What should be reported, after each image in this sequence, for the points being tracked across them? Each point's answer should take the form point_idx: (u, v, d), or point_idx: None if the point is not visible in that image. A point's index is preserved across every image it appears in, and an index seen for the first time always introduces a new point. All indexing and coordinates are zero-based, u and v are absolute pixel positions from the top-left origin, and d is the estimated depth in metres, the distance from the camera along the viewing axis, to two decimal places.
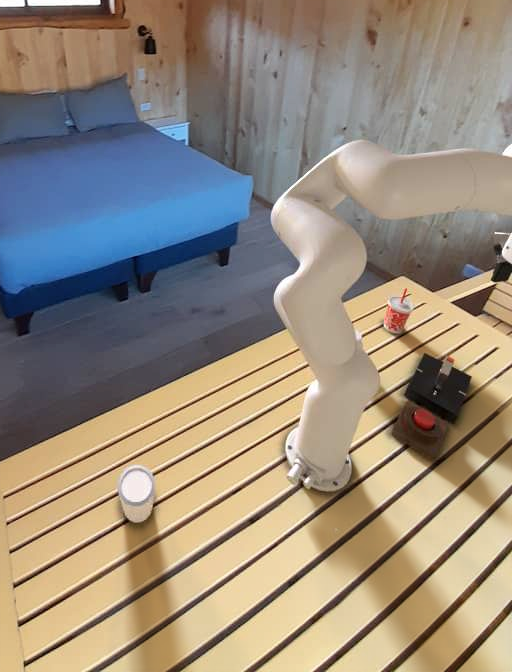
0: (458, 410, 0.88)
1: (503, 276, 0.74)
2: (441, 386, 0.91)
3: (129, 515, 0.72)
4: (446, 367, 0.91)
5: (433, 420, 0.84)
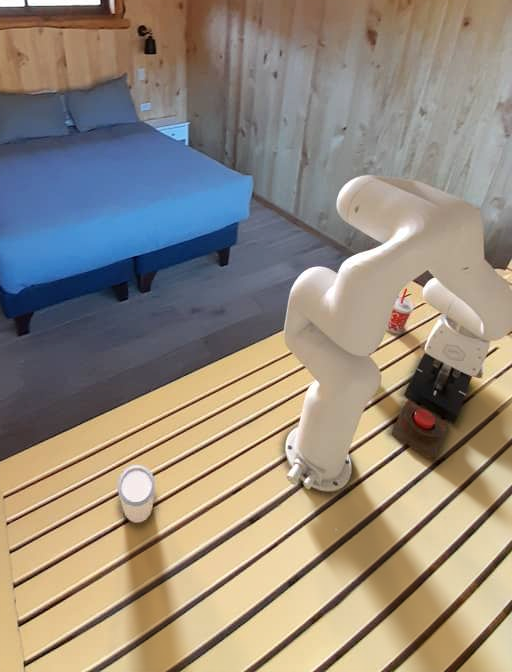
0: (458, 410, 0.88)
1: None
2: (441, 386, 0.91)
3: (129, 515, 0.72)
4: (446, 367, 0.91)
5: (433, 420, 0.84)
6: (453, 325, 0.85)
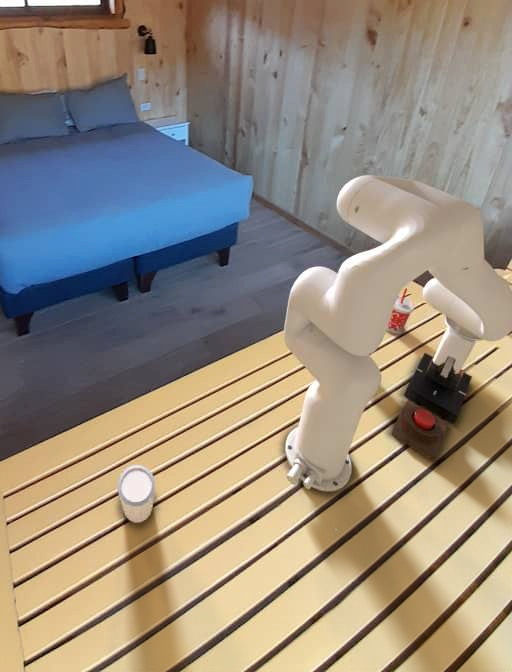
0: (458, 410, 0.88)
1: None
2: None
3: (129, 515, 0.72)
4: None
5: (433, 420, 0.84)
6: None
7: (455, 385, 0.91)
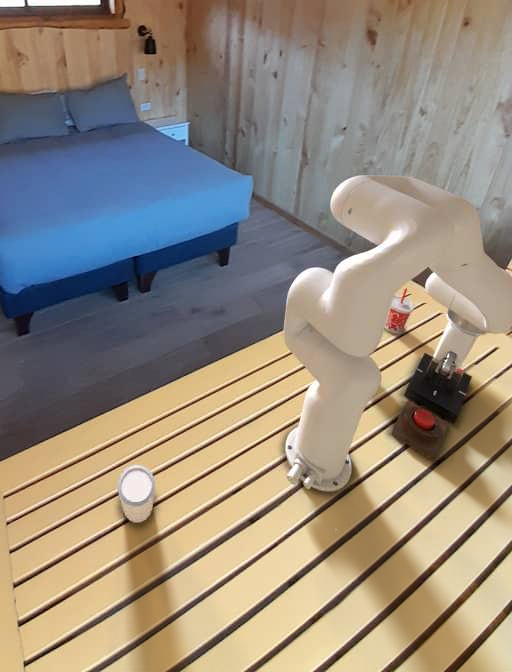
0: (458, 410, 0.88)
1: None
2: None
3: (129, 515, 0.72)
4: None
5: (433, 420, 0.84)
6: None
7: (455, 385, 0.91)
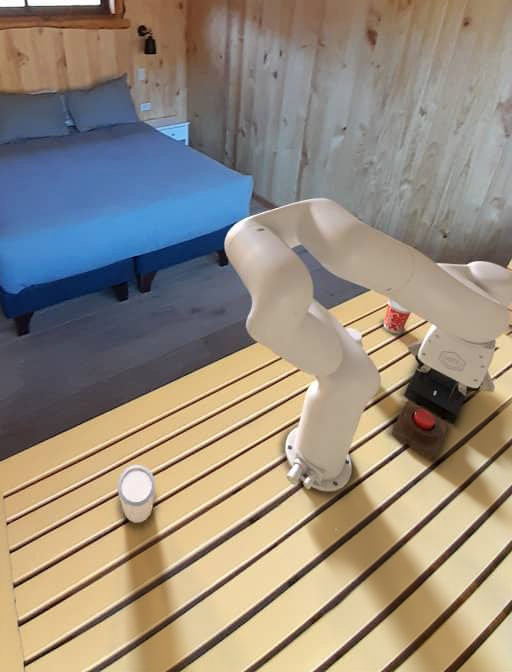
0: (458, 410, 0.88)
1: None
2: None
3: (129, 515, 0.72)
4: None
5: (433, 420, 0.84)
6: None
7: None
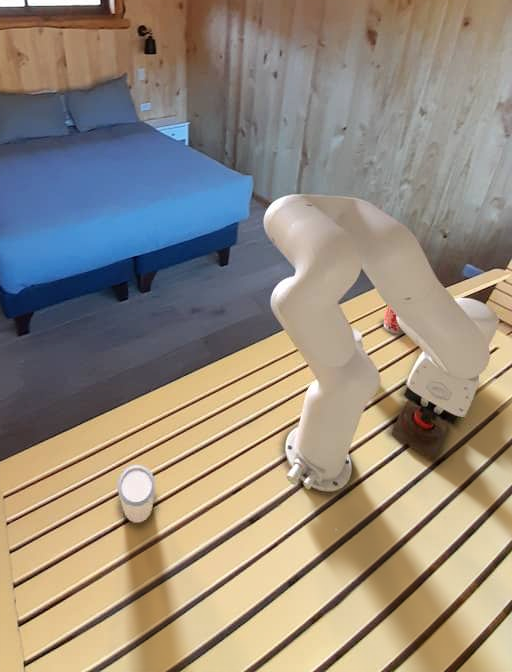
0: None
1: None
2: None
3: (129, 515, 0.72)
4: None
5: (433, 421, 0.84)
6: None
7: None
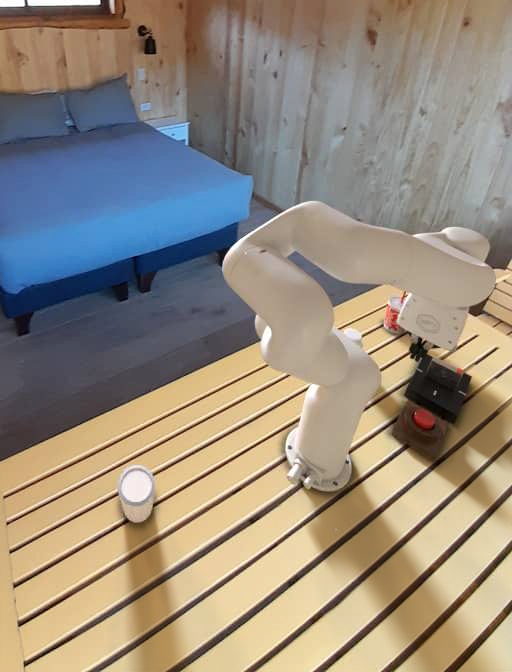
0: (458, 410, 0.88)
1: (417, 351, 0.84)
2: None
3: (129, 515, 0.72)
4: (444, 363, 0.92)
5: (433, 420, 0.84)
6: None
7: (455, 385, 0.91)
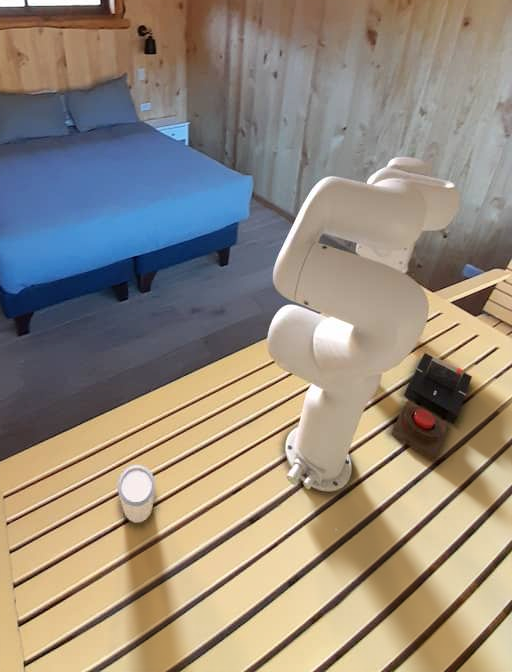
0: (458, 410, 0.88)
1: None
2: None
3: (129, 515, 0.72)
4: (444, 363, 0.92)
5: (433, 420, 0.84)
6: None
7: (455, 385, 0.91)
